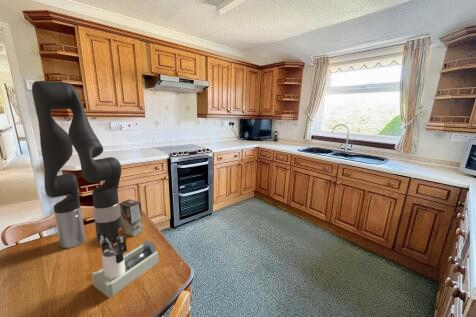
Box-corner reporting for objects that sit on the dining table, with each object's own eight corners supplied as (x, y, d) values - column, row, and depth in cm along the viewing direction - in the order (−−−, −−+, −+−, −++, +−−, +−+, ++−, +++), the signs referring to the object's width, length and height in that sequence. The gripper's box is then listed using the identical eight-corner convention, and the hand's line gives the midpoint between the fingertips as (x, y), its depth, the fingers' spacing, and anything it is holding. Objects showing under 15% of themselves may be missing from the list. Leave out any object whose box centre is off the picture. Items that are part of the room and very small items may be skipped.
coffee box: (143, 230, 107) (141, 202, 103) (133, 237, 101) (130, 207, 98) (131, 226, 111) (129, 198, 107) (120, 232, 105) (117, 203, 101)
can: (117, 288, 70) (113, 258, 68) (100, 285, 71) (96, 256, 69) (129, 274, 76) (126, 246, 74) (114, 272, 77) (111, 244, 75)
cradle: (93, 285, 72) (91, 273, 71) (143, 253, 89) (142, 243, 88) (109, 298, 68) (107, 285, 67) (158, 261, 85) (158, 251, 84)
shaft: (124, 267, 80) (123, 254, 78) (148, 252, 88) (147, 240, 87) (132, 273, 77) (131, 259, 76) (155, 256, 86) (154, 244, 85)
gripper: (84, 215, 69) (90, 256, 73) (108, 227, 62) (113, 272, 66) (107, 206, 75) (112, 244, 79) (131, 217, 69) (135, 258, 72)
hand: (113, 257), depth 72 cm, fingers open, 8 cm apart
